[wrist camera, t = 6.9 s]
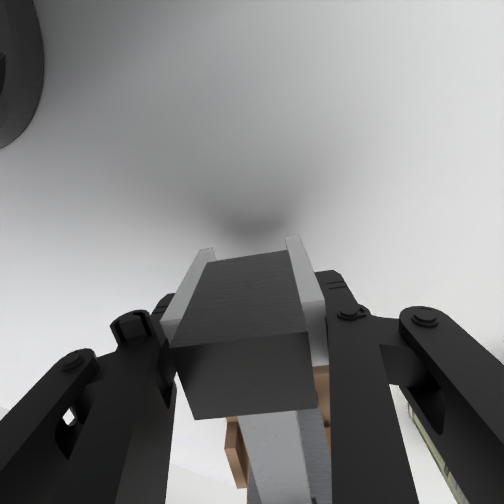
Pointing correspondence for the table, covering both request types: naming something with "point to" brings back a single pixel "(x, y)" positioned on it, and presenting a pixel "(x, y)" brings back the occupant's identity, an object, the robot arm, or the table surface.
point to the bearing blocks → (309, 458)
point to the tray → (235, 438)
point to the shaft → (251, 365)
